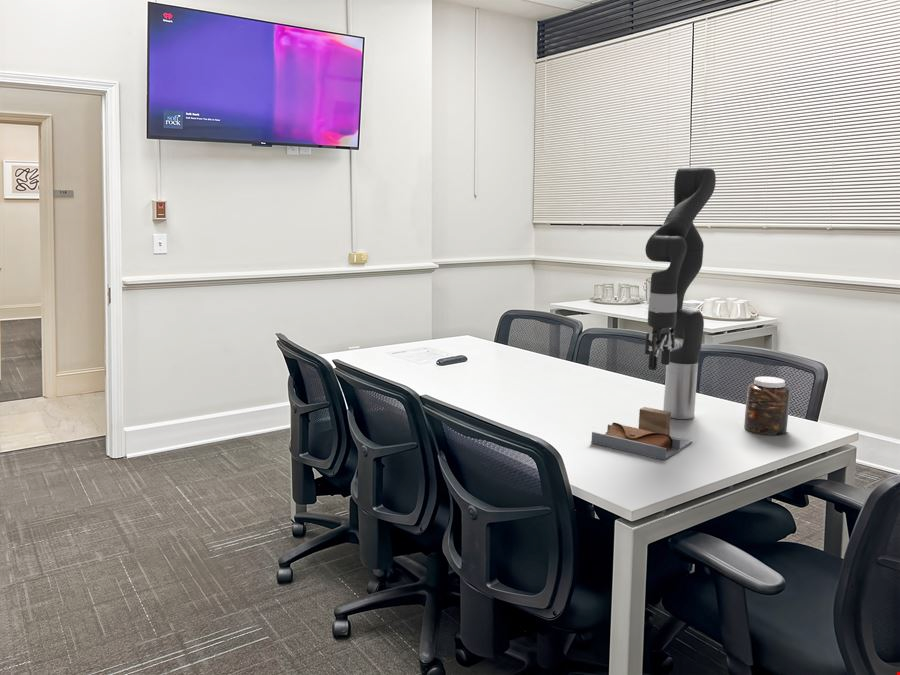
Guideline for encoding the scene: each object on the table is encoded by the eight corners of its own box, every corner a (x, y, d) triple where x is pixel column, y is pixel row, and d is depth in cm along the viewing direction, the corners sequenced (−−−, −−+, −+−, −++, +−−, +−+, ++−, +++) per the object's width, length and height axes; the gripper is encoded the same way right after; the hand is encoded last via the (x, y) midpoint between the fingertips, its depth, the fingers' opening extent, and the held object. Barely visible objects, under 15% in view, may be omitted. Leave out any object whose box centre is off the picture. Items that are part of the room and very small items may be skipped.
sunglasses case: (596, 439, 202) (604, 416, 204) (606, 447, 207) (613, 424, 209) (659, 454, 191) (666, 430, 192) (668, 461, 196) (675, 438, 198)
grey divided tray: (621, 427, 217) (623, 402, 215) (692, 442, 204) (694, 416, 202) (591, 442, 202) (592, 416, 201) (664, 460, 190) (666, 432, 188)
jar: (794, 436, 211) (799, 384, 209) (753, 435, 211) (758, 384, 208) (776, 423, 223) (780, 375, 220) (737, 423, 223) (741, 374, 220)
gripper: (660, 305, 211) (656, 360, 214) (638, 310, 200) (635, 369, 203) (685, 307, 206) (682, 364, 209) (665, 313, 195) (661, 373, 198)
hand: (659, 367), depth 206 cm, fingers open, 8 cm apart
